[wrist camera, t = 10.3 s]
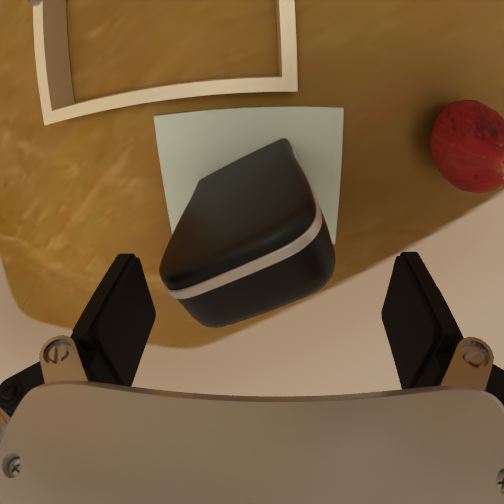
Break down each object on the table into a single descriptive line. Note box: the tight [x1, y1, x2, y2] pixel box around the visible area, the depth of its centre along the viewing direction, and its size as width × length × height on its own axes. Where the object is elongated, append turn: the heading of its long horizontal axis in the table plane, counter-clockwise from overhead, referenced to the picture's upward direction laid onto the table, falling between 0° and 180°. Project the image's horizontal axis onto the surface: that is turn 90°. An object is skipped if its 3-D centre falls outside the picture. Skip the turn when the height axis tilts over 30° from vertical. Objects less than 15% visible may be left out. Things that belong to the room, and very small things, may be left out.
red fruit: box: [431, 100, 504, 193], centre depth 15 cm, size 6×6×8 cm
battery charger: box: [159, 138, 335, 328], centre depth 16 cm, size 7×4×11 cm, turn 118°
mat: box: [154, 106, 344, 244], centre depth 21 cm, size 12×10×1 cm
